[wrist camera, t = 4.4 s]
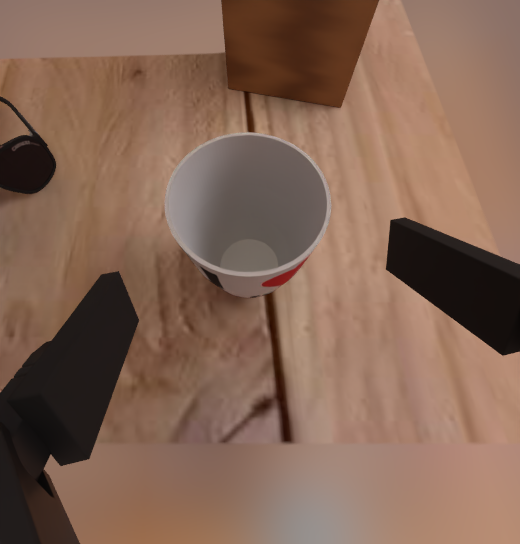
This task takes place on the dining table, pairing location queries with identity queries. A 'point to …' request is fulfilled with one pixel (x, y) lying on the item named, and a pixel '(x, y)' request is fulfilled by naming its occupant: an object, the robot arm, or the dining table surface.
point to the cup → (248, 211)
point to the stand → (295, 46)
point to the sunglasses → (25, 161)
